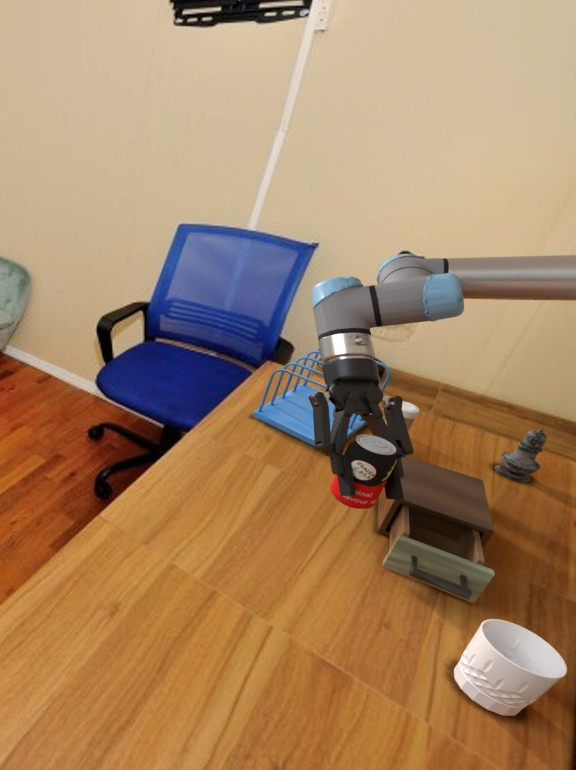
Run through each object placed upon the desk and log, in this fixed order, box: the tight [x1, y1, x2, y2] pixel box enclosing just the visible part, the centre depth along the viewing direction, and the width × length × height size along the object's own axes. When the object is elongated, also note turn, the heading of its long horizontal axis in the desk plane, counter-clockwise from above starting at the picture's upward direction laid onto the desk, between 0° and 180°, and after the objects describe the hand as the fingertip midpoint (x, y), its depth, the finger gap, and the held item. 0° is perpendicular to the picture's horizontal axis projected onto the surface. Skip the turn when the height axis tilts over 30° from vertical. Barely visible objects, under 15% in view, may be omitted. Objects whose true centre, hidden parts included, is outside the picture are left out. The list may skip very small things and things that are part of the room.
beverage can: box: [329, 433, 397, 510], centre depth 85 cm, size 6×6×12 cm
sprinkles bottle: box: [384, 400, 421, 432], centre depth 112 cm, size 5×5×14 cm
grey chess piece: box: [494, 428, 548, 483], centre depth 106 cm, size 6×6×12 cm
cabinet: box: [376, 455, 495, 550], centre depth 95 cm, size 16×13×9 cm
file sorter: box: [252, 348, 392, 447], centre depth 124 cm, size 25×17×15 cm
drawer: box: [382, 503, 496, 604], centre depth 86 cm, size 19×12×7 cm, turn 141°
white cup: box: [453, 618, 568, 717], centre depth 68 cm, size 8×8×10 cm
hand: (371, 497), depth 82 cm, fingers closed on beverage can, 6 cm apart
